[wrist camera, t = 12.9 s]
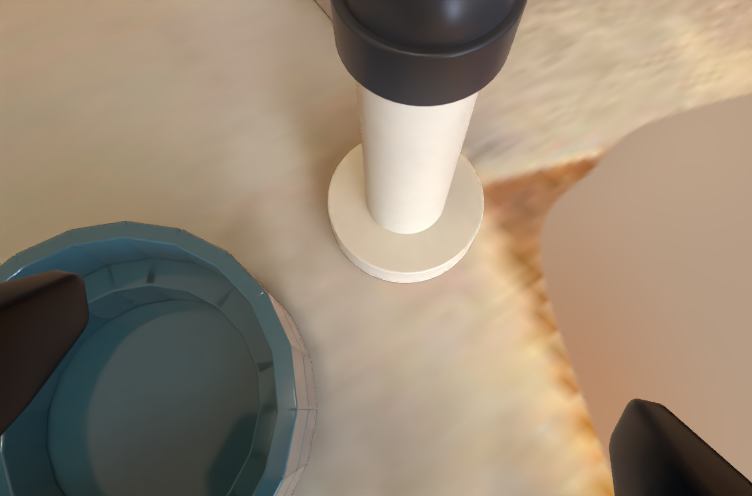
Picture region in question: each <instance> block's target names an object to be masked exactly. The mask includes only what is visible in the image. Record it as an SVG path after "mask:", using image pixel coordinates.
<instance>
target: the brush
mask: <svg viewBox="0 0 752 496" xmlns="http://www.w3.org/2000/svg"><path fill="white" fill-rule="evenodd" d="M330 3H331V11H332V18H333V26H334V34H335V41H336V47H337V50H338V54H339V56H340V58H341V60H342V63H343V64H344V66H345V67H346V69H347V70H348V72H349V73H350V74H351V75H352V76H353V77H354V79H355V80H356V83H357V95H358V107H359V120H360V132H361V143H360V144H358V145H357V146H355V147H354V148H353V149H352V150H351V151H350V152H348V154H347V155H346V156H345V157H344V158H343V159H342V160H341V162H340V163H339V165H338V166H337V168H336V170H335V172H334V174H333V176H332V178H331V181H330V184H329V189H328V196H327V207H328V214H329V218H330V222H331V226H332V229H333V233H334V236H335V238H336V241H337V243H338V244H339V246H340V248H341V250H342V251H343V252H344V254H345V255H346V256H347V258H348V259H349V260H350V261H351V262H353V263H354V264H355V265H356V266H357V267H359V268H360V269H361V270H363V271H364V272H366V273H368V274H370V275H372V276H374V277H377V278H379V279H383V280H386V281H390V282H398V283H412V282H420V281H424V280H428V279H431V278H433V277H436V276H438V275H440V274H442V273H444V272H446V271H447V270H449V269H450V268H451V267H453V266H454V265H455V264H456V263H457V262H458V261H459V260H460V259H461V258H462V257H463V256H464V254H465V253H466V252H467V250H468V249H469V247H470V245H471V243H472V241H473V240H474V238H475V236H476V234H477V232H478V230H479V227H480V224H481V221H482V217H483V211H484V195H483V190H482V185H481V182H480V180H479V177H478V175H477V173H476V171H475V169H474V167H473V166H472V164H471V163H470V162H469V160H468V159H467V158H466V157H465V156H464V155H463V154H462V152H461V148H462V145H463V142H464V138H465V135H466V132H467V128H468V125H469V122H470V118H471V115H472V111H473V108H474V105H475V101H476V98H477V95H478V91H479V90H481V89H482V88H484V87H485V86H486V85H487V84H488V83H489V82H490V81H492V80H493V79H494V77H495V76H496V75H497V74H498V73H499V71H500V70H501V68H502V67H503V65H504V63H505V61H506V59H507V56H508V54H509V51H510V48H511V45H512V43H513V40H514V37H515V34H516V31H517V28H518V26H519V23H520V20H521V17H522V14H523V11H524V8H525V6H526V3H527V0H330Z"/></svg>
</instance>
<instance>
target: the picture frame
mask: <svg viewBox="0 0 752 496" xmlns="http://www.w3.org/2000/svg"><path fill="white" fill-rule="evenodd" d="M315 1H316V2H317V3H318V4H319V5H320V7H321V8H322V9H323V10H324V11H325V13H326V14H327V15H328V16H329V17H330V19H331V20H332V21H333V18H332V11H331V3H330V0H315Z"/></svg>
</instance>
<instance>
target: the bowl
mask: <svg viewBox="0 0 752 496" xmlns="http://www.w3.org/2000/svg"><path fill="white" fill-rule="evenodd" d="M51 270H61V271H66V272H70V273H75V274H78V275H80V276H81V277H82V278H83V280H84V283H85V288H86V295H87V301H88V308H89V322H88V325H87V327H86V329H85V330H84V332H83V333H82V335H81V336H80V337H79V339H78V340H77V341H76V343H75V344H74V345H73V347H72V348H71V349H70V351H69V352H68V353H67V355H66V356H65V357H64V359H63V360H62V361H61V363H60V364H59V365H58V367H57V368H56V370H55V371H54V372H53V374H52V375H51V376H50V378H49V379H48V380H47V382H46V383H45V384H44V386H43V387H42V388H41V390H40V391H39V392H38V394H37V395H36V396H35V397H34V399H33V400H32V401H31V403H30V404H29V405H28V406H27V407H26V409H25V410H24V411H23V412H22V413H21V414H20V416H19V417H18V418H17V419H16V420H15V421H14V422H13V423H12V425H11V426H10V427H9V428H8V429H7V430H6V431H5V432H4V433H3V435H2V436H1V437H0V496H291V494H292V492H293V490H294V489H295V487H296V485H297V483H298V481H299V479H300V477H301V475H302V473H303V471H304V469H305V467H306V465H307V462H308V458H309V452H310V447H311V441H312V436H313V430H314V425H315V419H316V414H317V409H316V408H317V403H316V394H315V386H314V377H313V369H312V361H311V360H310V355H309V353H308V351H307V349H306V347H305V344H304V342H303V340H302V338H301V336H300V334H299V331H298V329H297V327H296V325H295V323H294V321H293V319H292V318H291V316H290V315H289V314H288V312H287V311H286V310H285V309H284V308H283V307H282V306H281V305H280V304H279V303H278V302H277V301H276V300H275V299H274V298H273V297H272V296H271V295H270V294H269V293H268V292H267V291H266V290H265V289H264V287H263V286H262V285H261V284H260V283H259V282H258V281H257V280H256V279H255V278H254V277H253V276H252V275H251V274H250V273H249V272H248V271H247V270H246V269H245V268H244V267H243V266H242V265H241V264H240V263H239V262H238V261H237V260H236V259H235V258H234V257H233V256H232V255H231V254H229V253H228V252H227V251H225V250H223V249H221V248H219V247H217V246H215V245H213V244H211V243H209V242H207V241H205V240H203V239H201V238H199V237H197V236H195V235H193V234H191V233H189V232H187V231H185V230H181V229H179V228H172V227H165V226H158V225H151V224H144V223H137V222H130V221H129V222H127V221H123V222H117V223H110V224H104V225H97V226H91V227H84V228H78V229H72V230H71V231H70V230H69V231H66V232H64V233H62V234H60V235H57V236H55V237H53V238H51V239H48V240H46V241H44V242H42V243H39V244H37V245H35V246H33V247H30V248H28V249H26V250H24V251H21V252H19V253H17V254H16V255H15V256H12V257H11V258H10V259H8V260H7V261H6V262H5V263H3V264H2V265H1V266H0V283H1V282H5V281H9V280H14V279H18V278H22V277H26V276H30V275H34V274H39V273H43V272H47V271H51Z"/></svg>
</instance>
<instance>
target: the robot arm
mask: <svg viewBox="0 0 752 496" xmlns="http://www.w3.org/2000/svg"><path fill="white" fill-rule="evenodd" d="M88 322H89V308H88V301H87V295H86V288H85V283H84V280H83V278H82V277H81V276H80V275H78V274H75V273H70V272H66V271H61V270H51V271H47V272H43V273H39V274H34V275H30V276H26V277H22V278H18V279H14V280H9V281H5V282H1V283H0V437H1V436H2V435H3V433H4V432H5V431H6V430H7V429H8V428H9V427H10V426H11V425H12V423H13V422H14V421H15V420H16V419H17V418H18V417H19V416H20V414H21V413H22V412H23V411H24V410H25V409H26V407H27V406H28V405H29V404H30V403H31V401H32V400H33V399H34V397H35V396H36V395H37V394H38V392H39V391H40V390H41V388H42V387H43V386H44V384H45V383H46V382H47V380H48V379H49V378H50V376H51V375H52V374H53V372H54V371H55V370H56V368H57V367H58V365H59V364H60V363H61V361H62V360H63V359H64V357H65V356H66V355H67V353H68V352H69V351H70V349H71V348H72V347H73V345H74V344H75V343H76V341H77V340H78V339H79V337H80V336H81V335H82V333H83V332H84V330H85V329H86V327H87V325H88ZM609 453H610V461H611V469H612V477H613V485H614V493H615V496H752V483H751V482H750V481H749V480H748V479H747V478H746V477H745V476H743V475H742V474H741V473H740V472H739V471H738V470H736V469H735V468H734V467H733V466H732V465H731V464H730V463H728V462H727V461H726V460H725V459H724V458H723V457H722V456H720V455H719V454H718V453H717V452H716V451H715V450H714V449H713V448H711V447H710V446H709V445H708V444H707V443H706V442H705V441H704V440H702V439H701V438H700V437H699V436H698V435H697V434H696V433H694V432H693V431H692V430H691V429H690V428H689V427H688V426H686V425H685V424H684V423H683V422H682V421H681V420H679V419H678V418H677V417H676V416H675V415H674V414H673V413H672V412H670V411H669V410H668V409H667V408H666V407H665V406H663V405H661V404H659V403H655V402H650V401H646V400H641V399H633V400H631V401H630V402H629V403H628V404H627V406H626V408H625V410H624V412H623V414H622V416H621V418H620V420H619V421H618V423H617V425H616V427H615V429H614V431H613V433H612V435H611V439H610V444H609Z"/></svg>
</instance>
